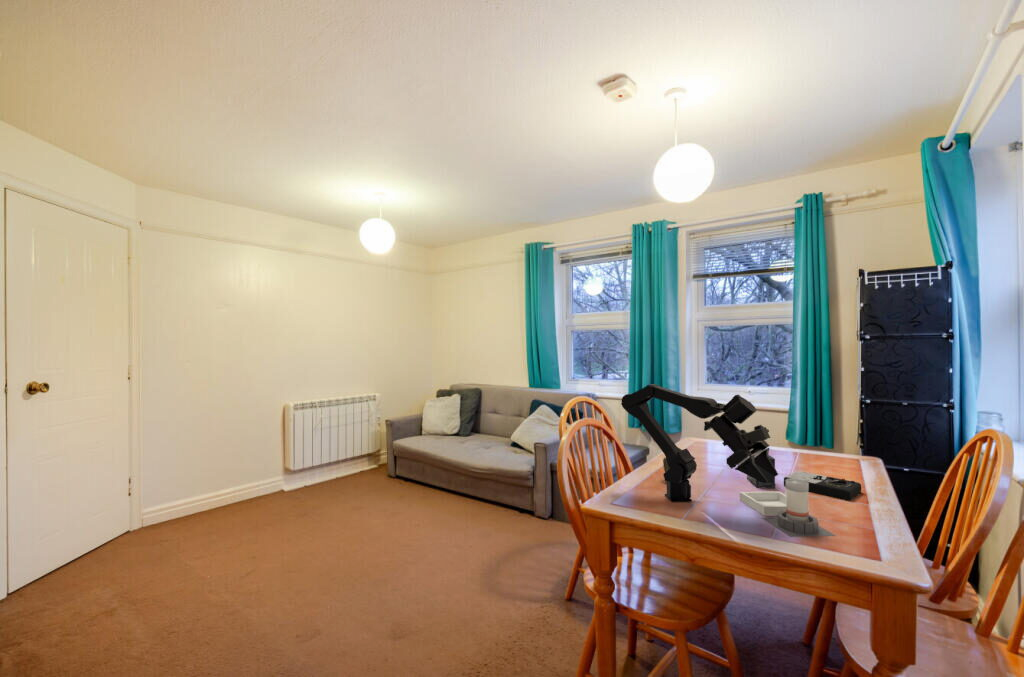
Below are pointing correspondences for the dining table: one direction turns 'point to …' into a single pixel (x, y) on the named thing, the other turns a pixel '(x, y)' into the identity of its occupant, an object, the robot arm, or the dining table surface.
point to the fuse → (797, 500)
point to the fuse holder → (798, 526)
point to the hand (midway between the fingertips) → (771, 478)
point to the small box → (767, 475)
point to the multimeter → (828, 485)
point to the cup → (665, 465)
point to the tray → (765, 502)
